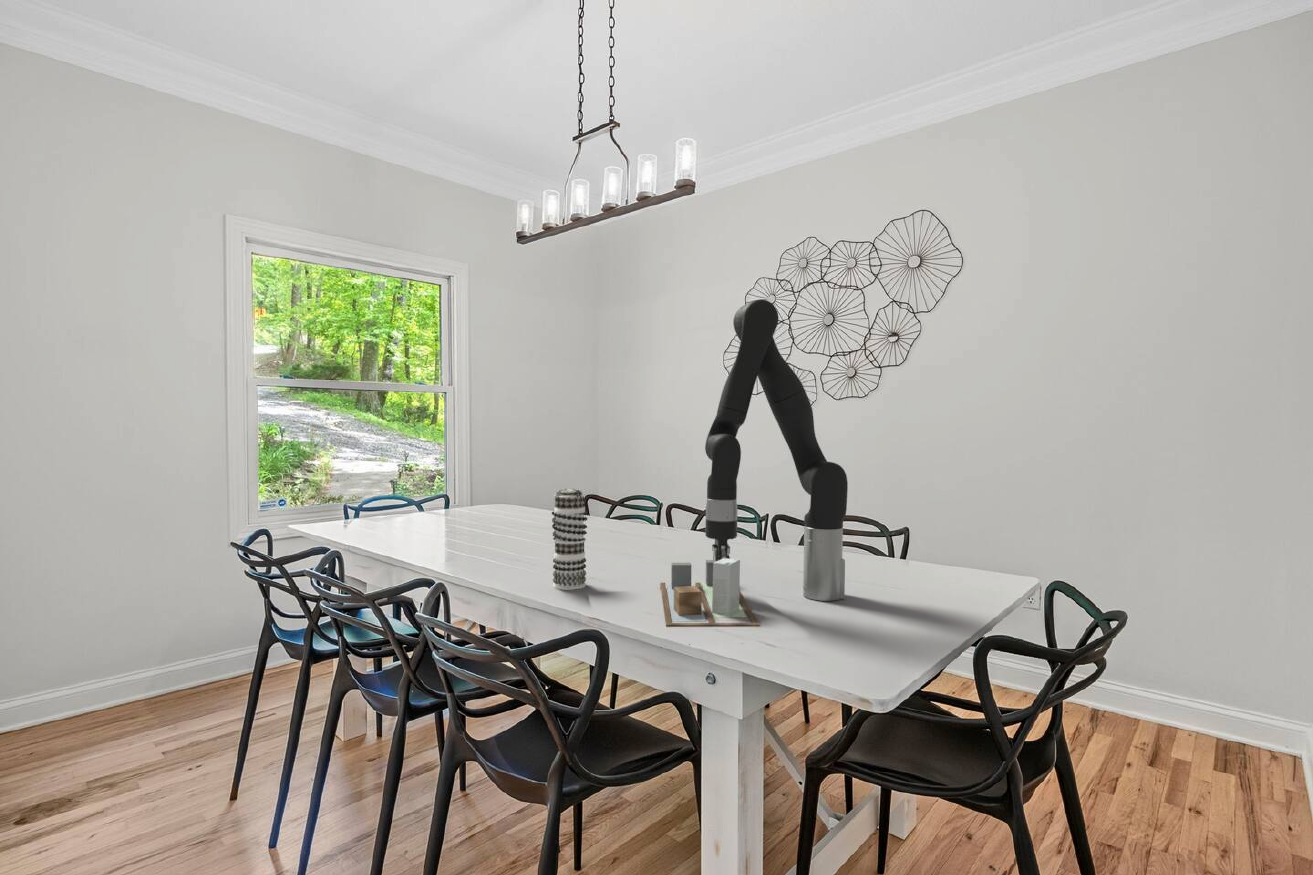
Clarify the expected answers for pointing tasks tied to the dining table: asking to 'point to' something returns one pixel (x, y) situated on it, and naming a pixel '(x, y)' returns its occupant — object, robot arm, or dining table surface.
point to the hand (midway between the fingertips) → (720, 589)
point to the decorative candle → (569, 539)
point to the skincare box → (726, 586)
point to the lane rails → (707, 611)
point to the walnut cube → (687, 600)
